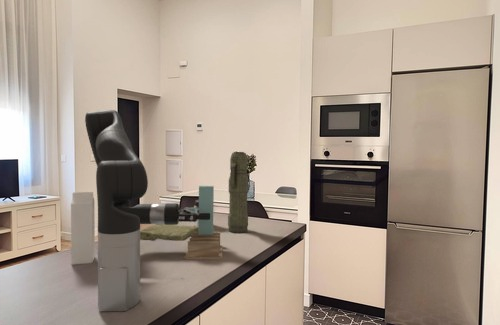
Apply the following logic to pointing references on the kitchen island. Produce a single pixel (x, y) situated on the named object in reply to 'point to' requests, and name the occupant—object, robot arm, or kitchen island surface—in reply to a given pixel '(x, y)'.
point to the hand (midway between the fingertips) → (210, 214)
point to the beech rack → (204, 247)
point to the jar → (196, 211)
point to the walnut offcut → (204, 236)
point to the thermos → (238, 193)
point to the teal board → (206, 209)
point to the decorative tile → (167, 232)
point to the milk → (82, 228)
